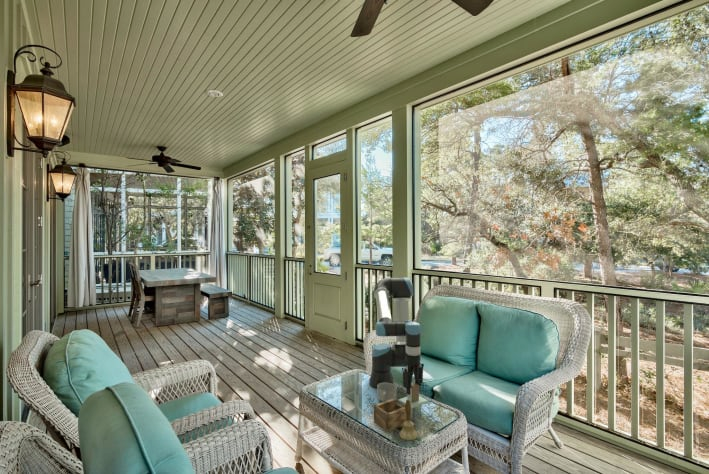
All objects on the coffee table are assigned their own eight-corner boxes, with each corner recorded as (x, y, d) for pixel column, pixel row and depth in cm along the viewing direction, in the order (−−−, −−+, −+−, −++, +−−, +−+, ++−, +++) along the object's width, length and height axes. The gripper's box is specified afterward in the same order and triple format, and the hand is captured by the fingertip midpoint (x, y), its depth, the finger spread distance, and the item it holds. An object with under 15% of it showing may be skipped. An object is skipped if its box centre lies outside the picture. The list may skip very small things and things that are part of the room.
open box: (395, 412, 175) (395, 397, 175) (410, 422, 166) (410, 406, 166) (373, 421, 167) (373, 405, 167) (388, 431, 158) (388, 415, 158)
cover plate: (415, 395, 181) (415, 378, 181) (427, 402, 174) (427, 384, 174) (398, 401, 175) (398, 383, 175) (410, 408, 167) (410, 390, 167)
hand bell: (411, 442, 150) (411, 406, 150) (395, 435, 155) (395, 400, 155) (421, 434, 156) (421, 399, 156) (405, 427, 162) (405, 394, 161)
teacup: (381, 394, 195) (381, 380, 195) (399, 398, 190) (399, 384, 190) (371, 405, 183) (371, 390, 183) (390, 410, 178) (390, 394, 178)
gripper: (419, 348, 182) (419, 391, 182) (395, 354, 173) (395, 400, 173) (430, 352, 176) (430, 397, 176) (405, 359, 166) (405, 406, 167)
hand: (413, 398), depth 174 cm, fingers closed on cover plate, 4 cm apart
